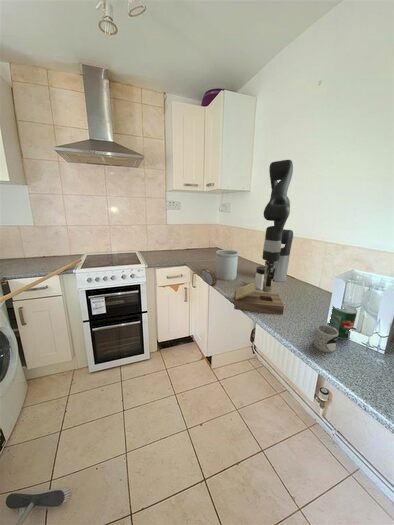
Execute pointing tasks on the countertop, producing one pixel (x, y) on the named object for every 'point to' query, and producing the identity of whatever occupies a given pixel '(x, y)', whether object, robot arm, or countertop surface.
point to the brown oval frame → (209, 277)
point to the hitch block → (260, 303)
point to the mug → (325, 338)
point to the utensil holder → (226, 264)
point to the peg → (265, 288)
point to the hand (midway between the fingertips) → (267, 284)
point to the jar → (259, 277)
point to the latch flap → (245, 291)
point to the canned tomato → (342, 321)
